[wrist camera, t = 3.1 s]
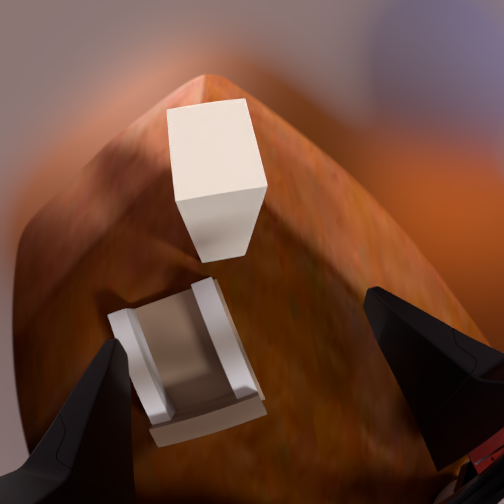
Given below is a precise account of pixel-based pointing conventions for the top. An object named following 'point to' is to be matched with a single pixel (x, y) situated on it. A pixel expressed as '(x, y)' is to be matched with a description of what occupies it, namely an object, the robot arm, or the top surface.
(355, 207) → the top surface
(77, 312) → the top surface
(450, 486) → the plastic bottle
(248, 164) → the white rectangular block
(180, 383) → the sill track
